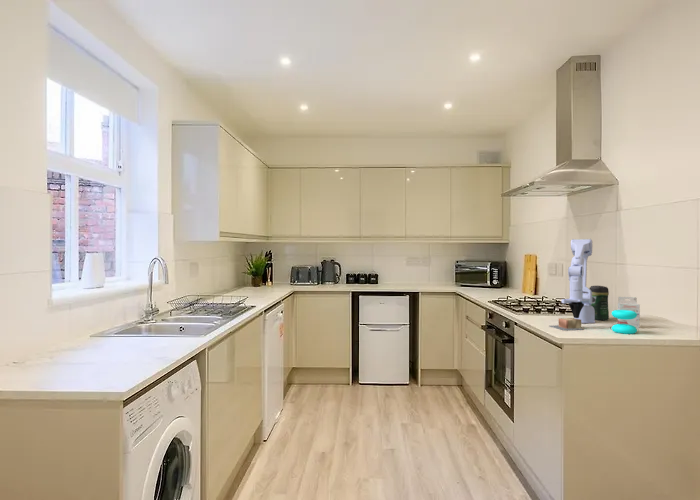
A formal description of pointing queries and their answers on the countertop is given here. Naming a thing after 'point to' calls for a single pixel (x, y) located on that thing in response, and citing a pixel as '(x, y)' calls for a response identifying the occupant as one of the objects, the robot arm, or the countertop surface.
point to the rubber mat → (565, 328)
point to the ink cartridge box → (629, 306)
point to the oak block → (569, 323)
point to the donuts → (624, 327)
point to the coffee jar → (600, 302)
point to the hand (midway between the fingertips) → (576, 317)
